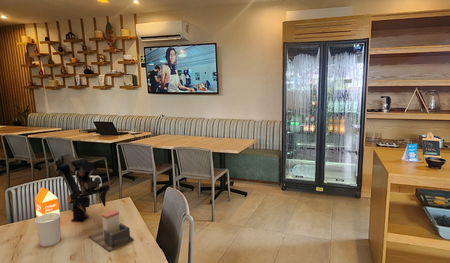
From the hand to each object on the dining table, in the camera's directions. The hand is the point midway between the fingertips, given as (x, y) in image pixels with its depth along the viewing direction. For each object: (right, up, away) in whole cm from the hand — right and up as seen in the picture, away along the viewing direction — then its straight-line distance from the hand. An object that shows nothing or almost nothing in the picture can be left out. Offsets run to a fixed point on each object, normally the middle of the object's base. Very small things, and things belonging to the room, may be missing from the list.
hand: (95, 209), depth 136 cm
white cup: (-18, -14, -5) cm, 24 cm away
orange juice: (-29, -11, +10) cm, 32 cm away
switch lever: (+10, -12, -4) cm, 16 cm away
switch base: (+9, -13, -3) cm, 16 cm away
